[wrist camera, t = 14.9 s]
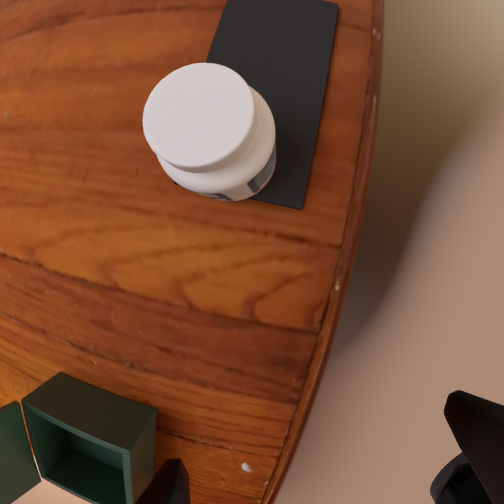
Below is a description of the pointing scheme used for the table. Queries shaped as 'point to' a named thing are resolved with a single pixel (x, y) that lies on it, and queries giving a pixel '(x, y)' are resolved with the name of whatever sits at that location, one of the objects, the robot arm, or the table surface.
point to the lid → (15, 456)
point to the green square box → (91, 440)
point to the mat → (281, 77)
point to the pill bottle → (211, 132)
